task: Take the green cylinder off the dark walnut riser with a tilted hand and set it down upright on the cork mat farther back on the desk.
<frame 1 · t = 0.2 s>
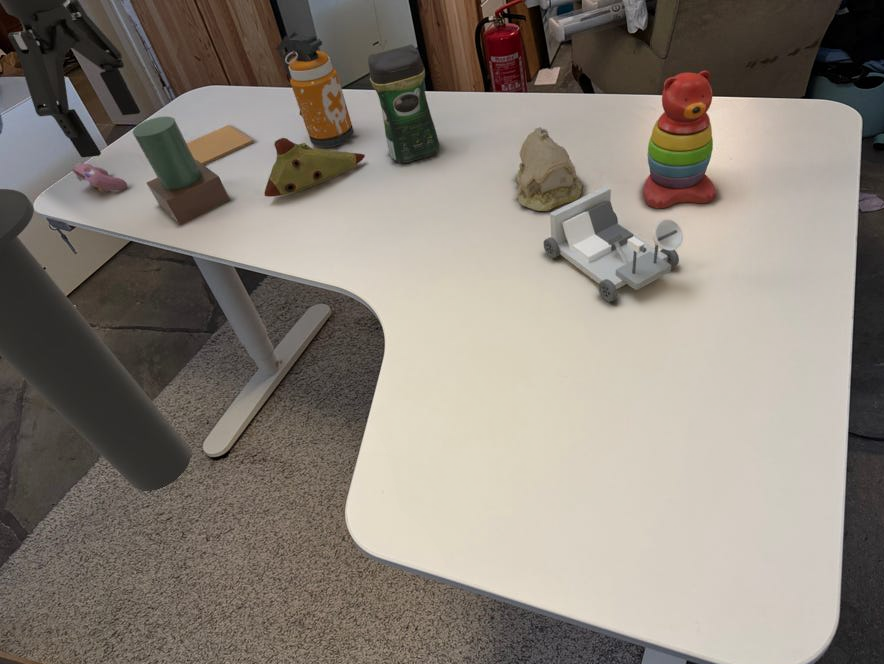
hand: (112, 133, 92), 19 cm above the table, tool pointing down, fingers open, 13 cm apart
cork mat: (216, 145, 128), on the table
green cylinder: (182, 179, 109), point 5 cm above the table, touching riser
ceramic model: (546, 188, 101), on the table
stacking bear: (675, 190, 96), on the table
ocarina: (319, 184, 112), on the table
pink animal figurine: (106, 189, 121), on the table
canister: (329, 139, 124), on the table
riser: (195, 203, 112), on the table
toy car: (614, 266, 85), on the table
coffee jar: (414, 153, 116), on the table
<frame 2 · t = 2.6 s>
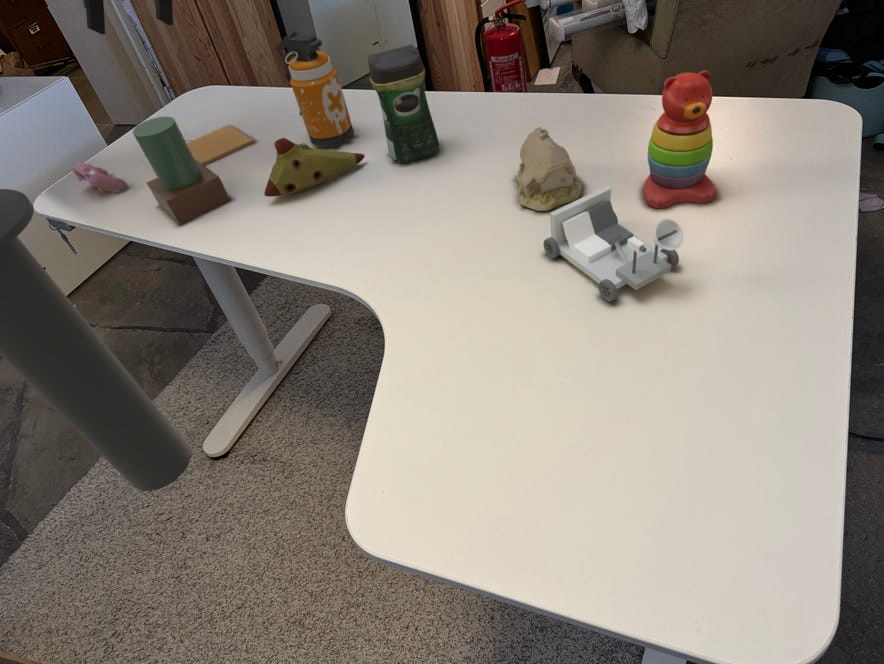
hand: (129, 26, 97), 28 cm above the table, tool tilted 40°, fingers open, 13 cm apart
nothing on the table moved.
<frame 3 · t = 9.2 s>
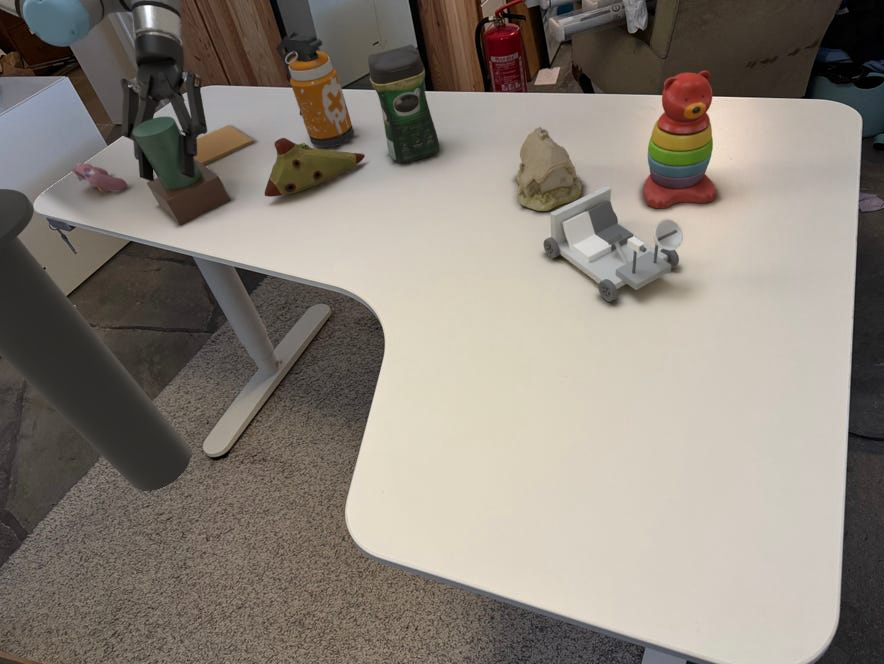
hand: (167, 176, 105), 8 cm above the table, tool tilted 45°, fingers closed on green cylinder, 7 cm apart
green cylinder: (182, 179, 109), point 5 cm above the table, touching gripper, riser
everything else where it was.
when the fingers open (3 cm above the table, at t = 20.0 s): green cylinder stays where it is, resting on cork mat.
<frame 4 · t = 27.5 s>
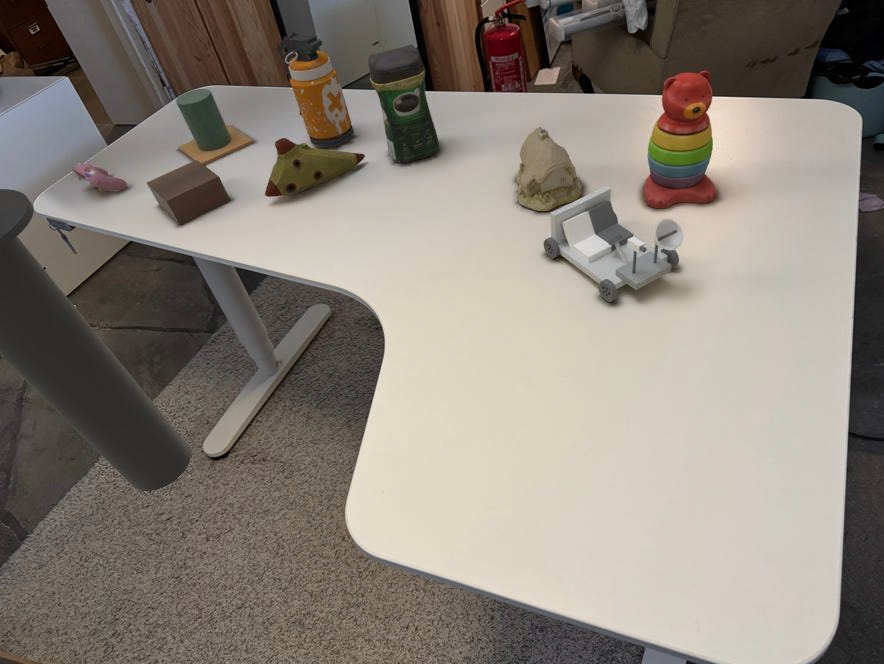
green cylinder: (215, 143, 128), point 1 cm above the table, touching cork mat
everything else where it was.
at the end: green cylinder inside the target area on the cork mat (0.1 cm from its centre), point 0.6 cm above the cork mat's base; green cylinder tilted 0°; green cylinder touching cork mat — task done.
